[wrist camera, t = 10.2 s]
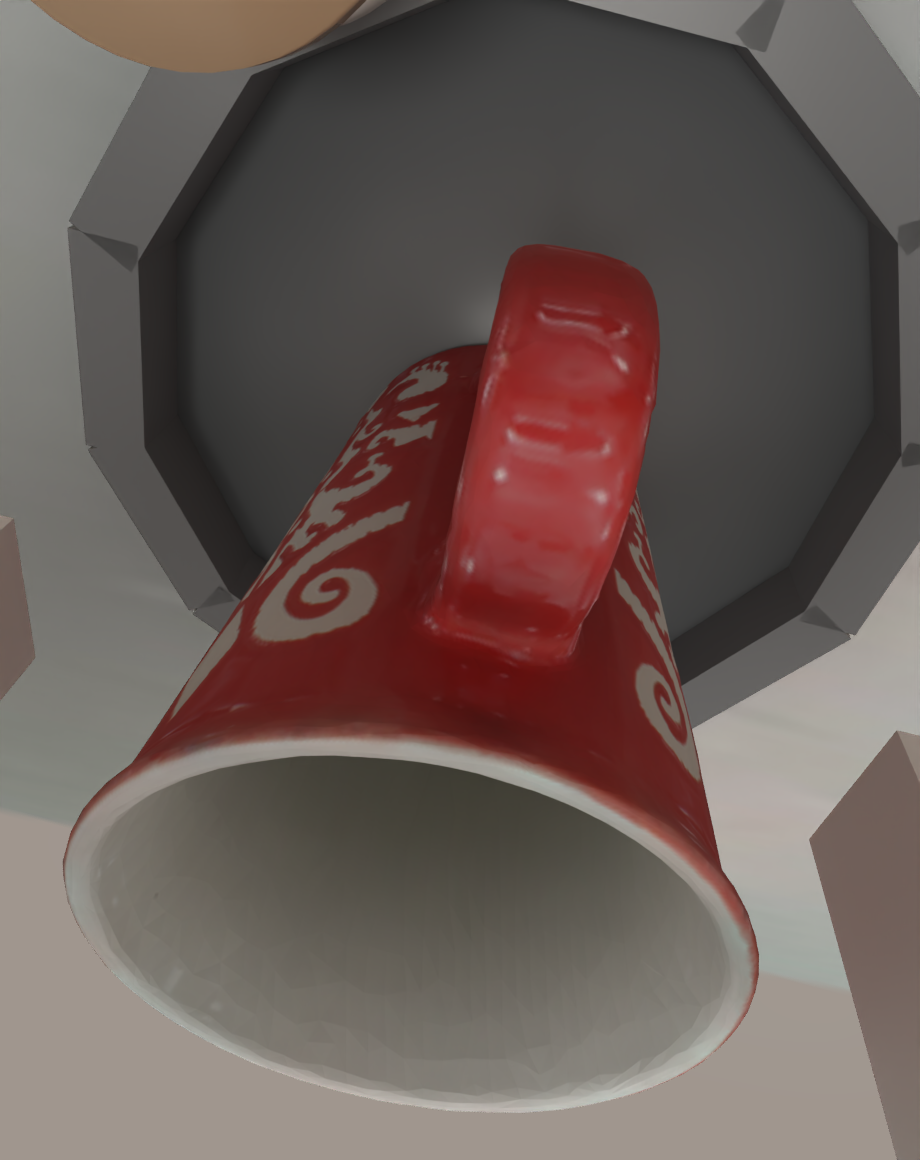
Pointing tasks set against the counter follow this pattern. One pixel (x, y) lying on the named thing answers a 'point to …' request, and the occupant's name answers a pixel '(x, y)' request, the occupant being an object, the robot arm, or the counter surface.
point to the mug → (444, 754)
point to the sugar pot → (205, 28)
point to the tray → (476, 269)
